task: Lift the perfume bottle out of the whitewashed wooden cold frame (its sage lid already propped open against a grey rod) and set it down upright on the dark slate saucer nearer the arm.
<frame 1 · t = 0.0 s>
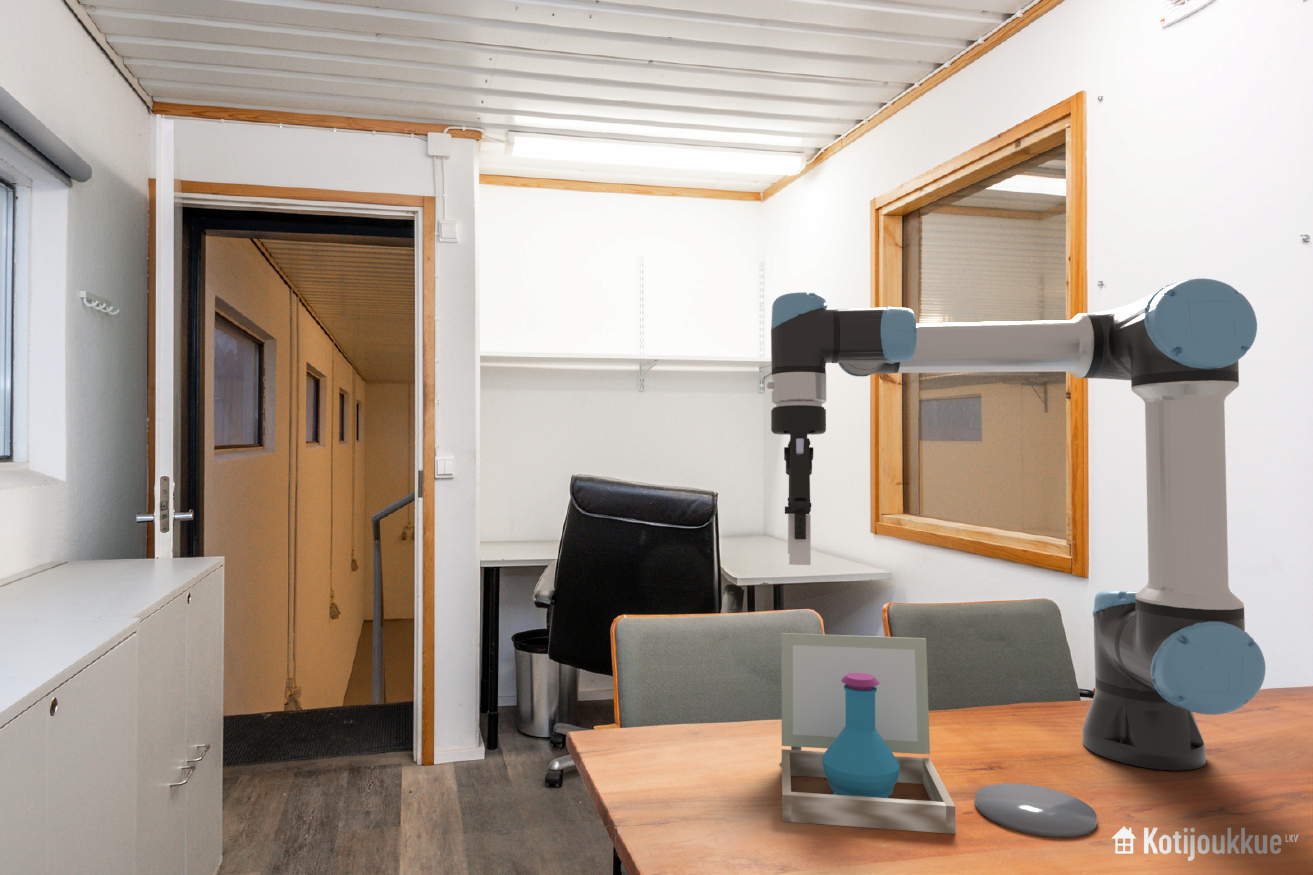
hand: (798, 559, 109), 28 cm above the table, fingers open, 13 cm apart
prop rod: (796, 764, 108), on the table
perfume bottle: (860, 802, 97), resting in cold frame
saucer: (1034, 811, 94), on the table
cold frame: (860, 800, 97), on the table
lid: (853, 692, 105), point 11 cm above the table, hinge at 98.0°
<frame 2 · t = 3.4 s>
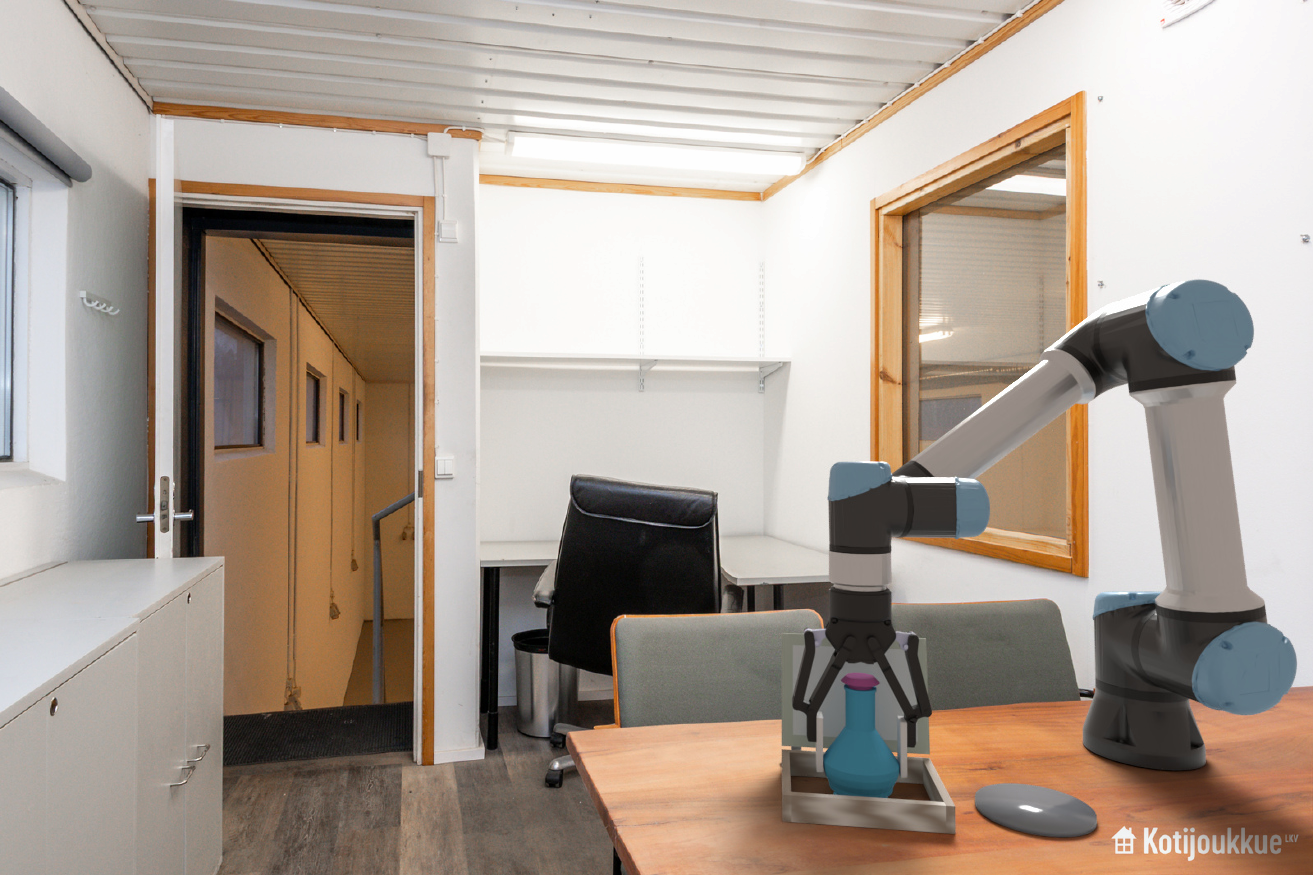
hand: (860, 770, 97), 4 cm above the table, fingers closed on perfume bottle, 9 cm apart
perfume bottle: (860, 801, 97), resting in cold frame, touching gripper
everything else where it was.
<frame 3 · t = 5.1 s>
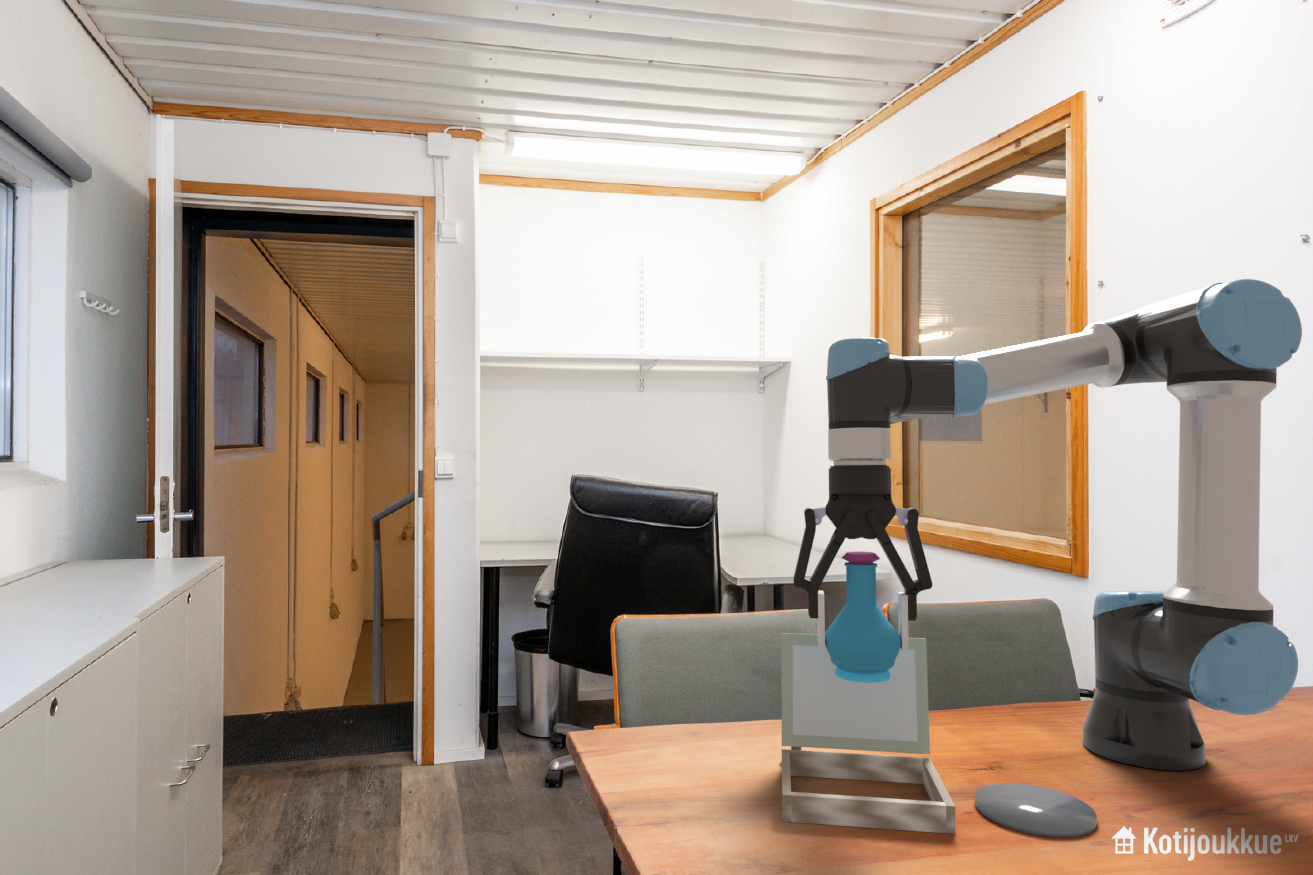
hand: (862, 645, 97), 19 cm above the table, fingers closed on perfume bottle, 9 cm apart
perfume bottle: (862, 677, 97), point 15 cm above the table, touching gripper
everything else where it was.
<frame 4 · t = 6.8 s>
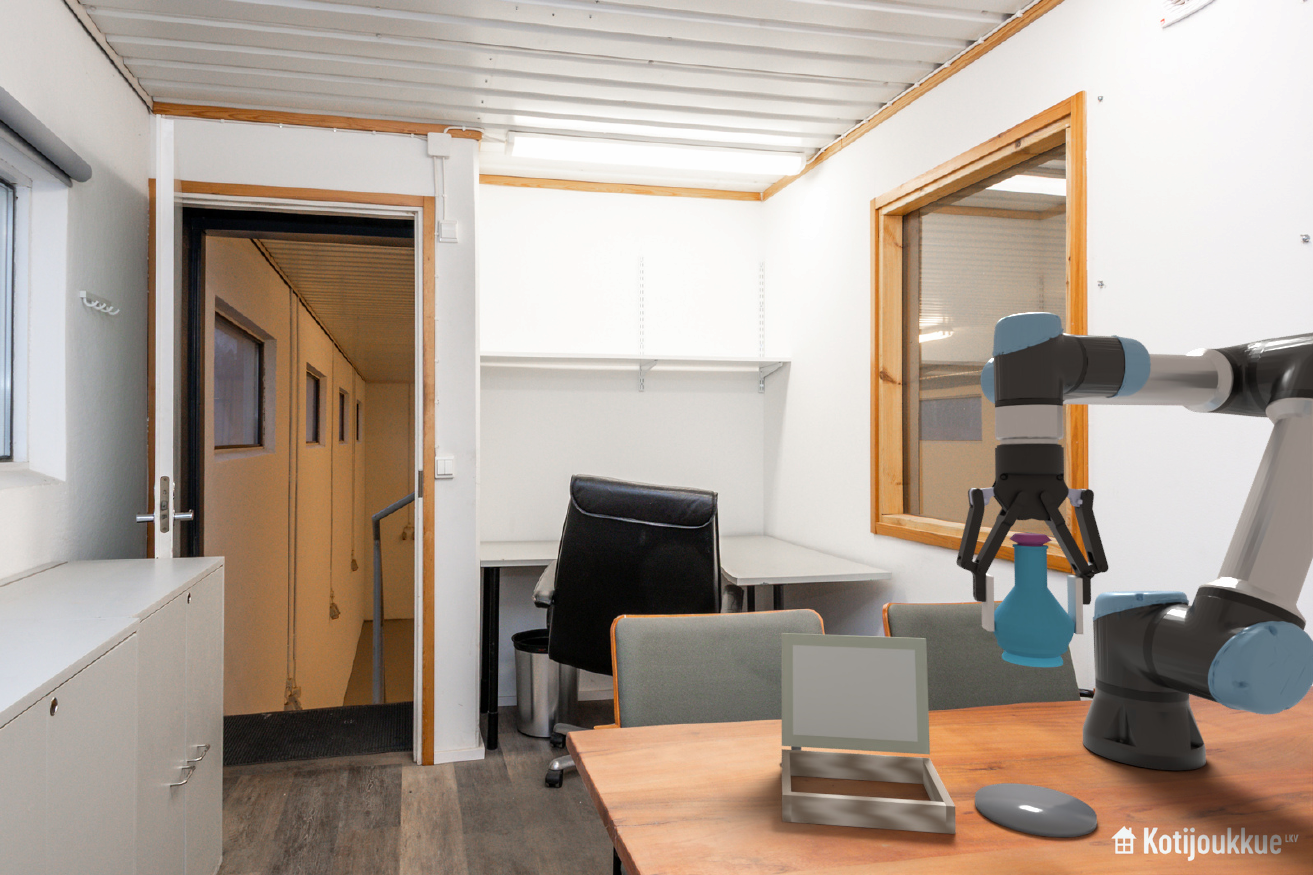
hand: (1031, 630, 94), 21 cm above the table, fingers closed on perfume bottle, 9 cm apart
perfume bottle: (1032, 662, 94), point 18 cm above the table, touching gripper
everything else where it was.
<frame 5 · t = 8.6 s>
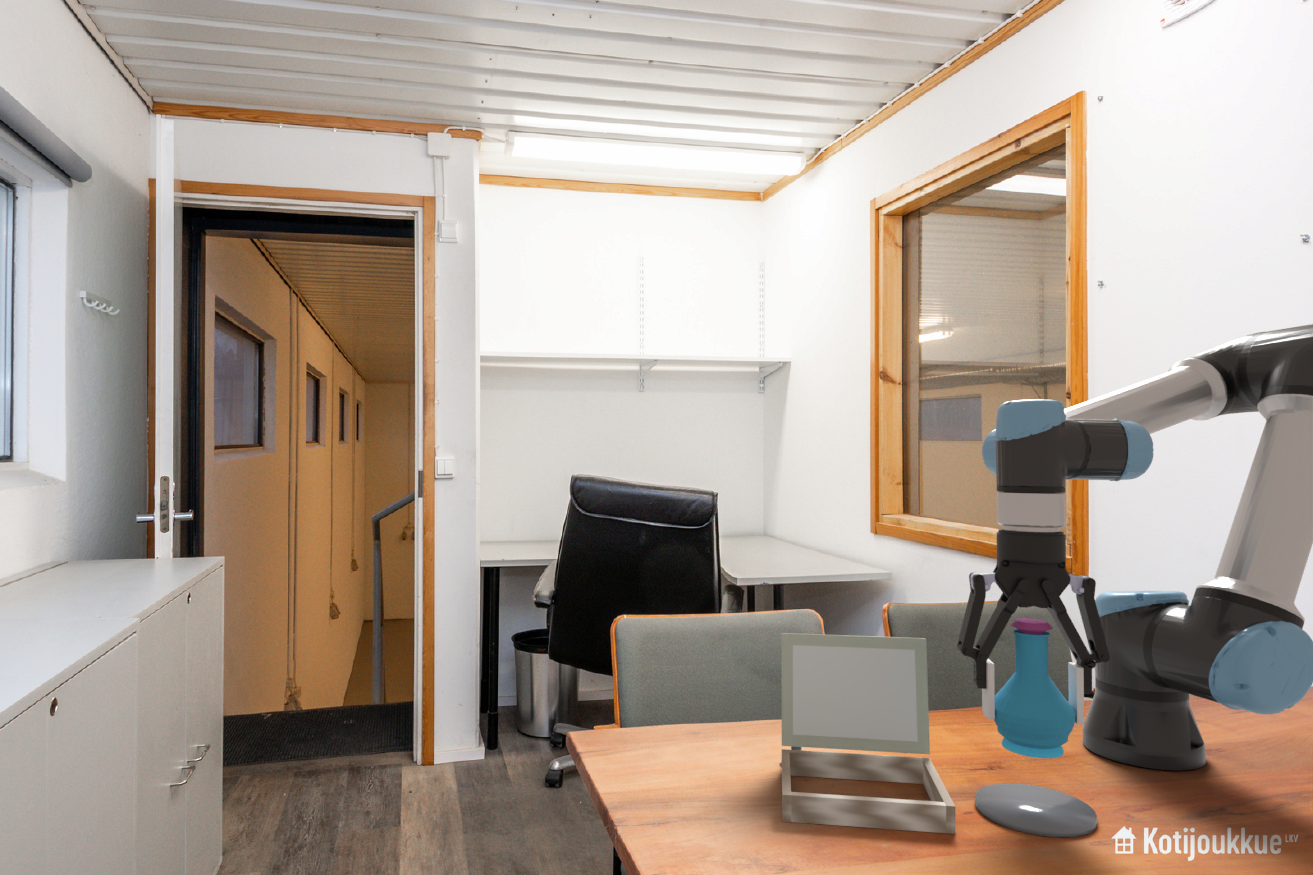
hand: (1032, 718, 94), 11 cm above the table, fingers closed on perfume bottle, 9 cm apart
perfume bottle: (1032, 750, 94), point 7 cm above the table, touching gripper
everything else where it was.
when the fingers open (5 cm above the table, at t = 10.2 s): perfume bottle drops 1 cm, resting on saucer.
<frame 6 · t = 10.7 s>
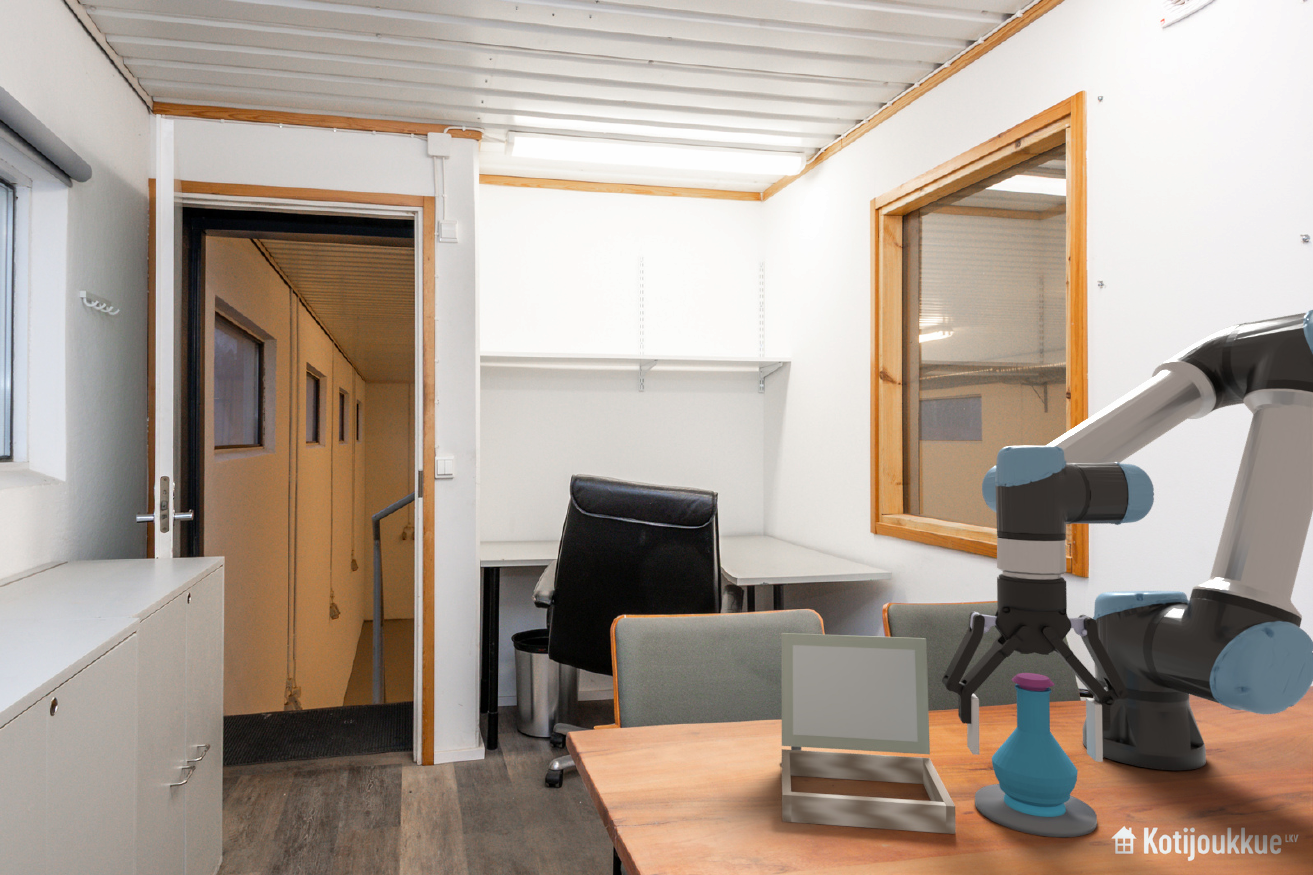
hand: (1033, 754, 94), 7 cm above the table, fingers open, 13 cm apart
perfume bottle: (1034, 806, 94), point 1 cm above the table, touching saucer
everything else where it was.
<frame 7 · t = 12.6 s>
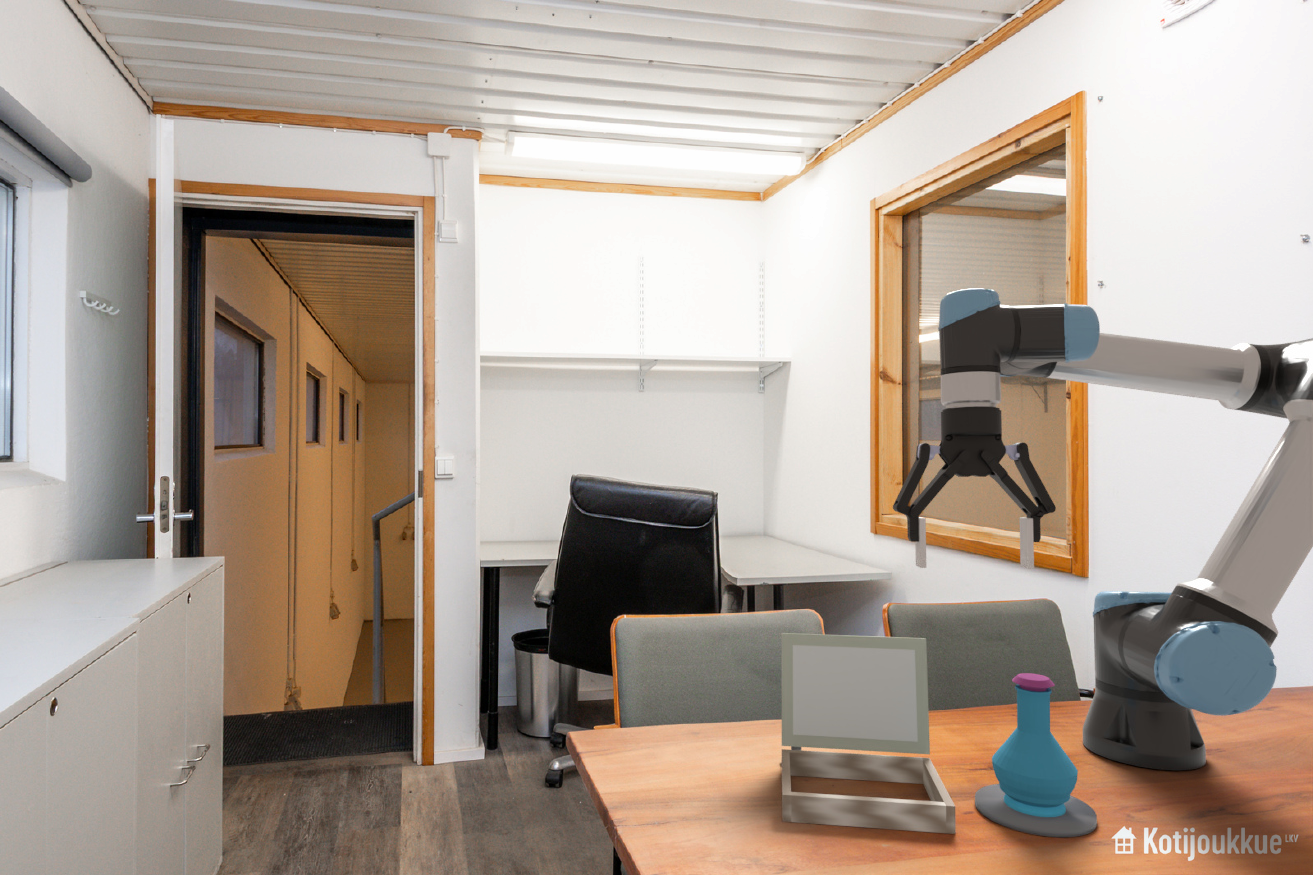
hand: (973, 567, 104), 28 cm above the table, fingers open, 13 cm apart
nothing on the table moved.
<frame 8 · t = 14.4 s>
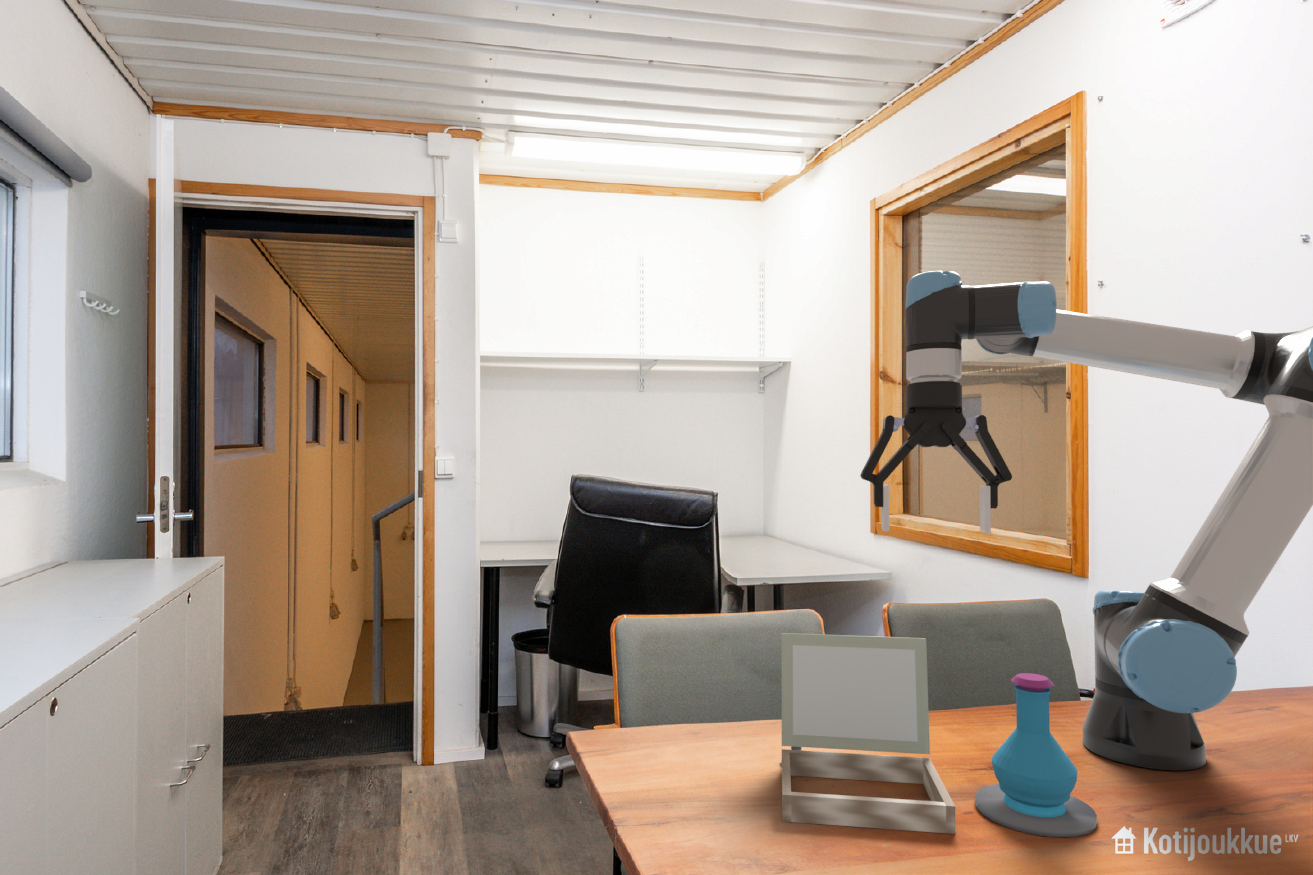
hand: (934, 531, 112), 32 cm above the table, fingers open, 13 cm apart
nothing on the table moved.
at the end: perfume bottle 0.0 cm from the saucer (horizontally); perfume bottle tilted 0°; perfume bottle point 0.6 cm above the table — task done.
